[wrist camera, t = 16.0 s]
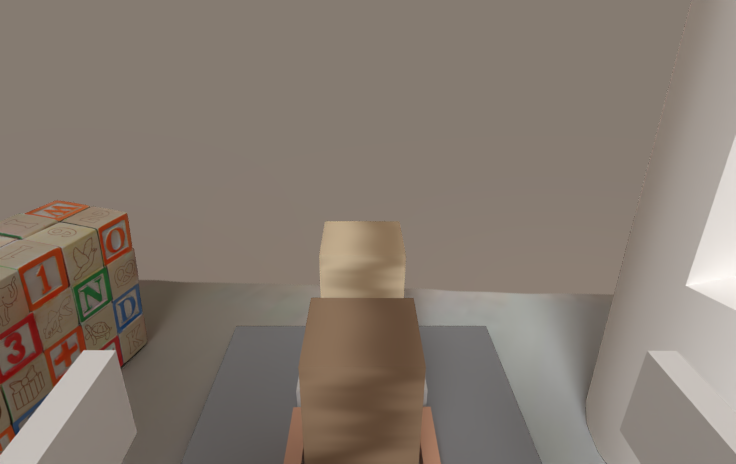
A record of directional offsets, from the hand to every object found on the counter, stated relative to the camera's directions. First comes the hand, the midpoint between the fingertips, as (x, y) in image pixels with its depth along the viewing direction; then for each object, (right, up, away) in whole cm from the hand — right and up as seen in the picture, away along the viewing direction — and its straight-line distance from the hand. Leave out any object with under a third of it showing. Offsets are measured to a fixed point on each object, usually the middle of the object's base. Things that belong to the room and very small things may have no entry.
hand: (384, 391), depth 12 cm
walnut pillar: (-1, -11, +15) cm, 19 cm away
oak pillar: (-1, -6, +25) cm, 26 cm away
